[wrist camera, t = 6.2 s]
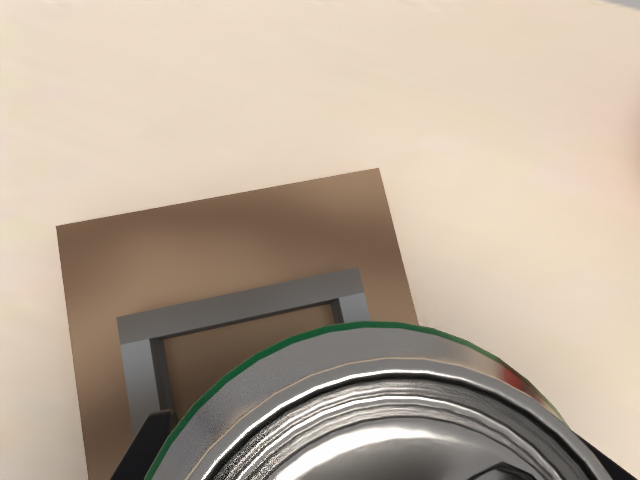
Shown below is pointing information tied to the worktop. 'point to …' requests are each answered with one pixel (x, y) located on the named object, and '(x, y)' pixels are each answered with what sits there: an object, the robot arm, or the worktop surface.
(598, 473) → the soda can
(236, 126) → the worktop surface
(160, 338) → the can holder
